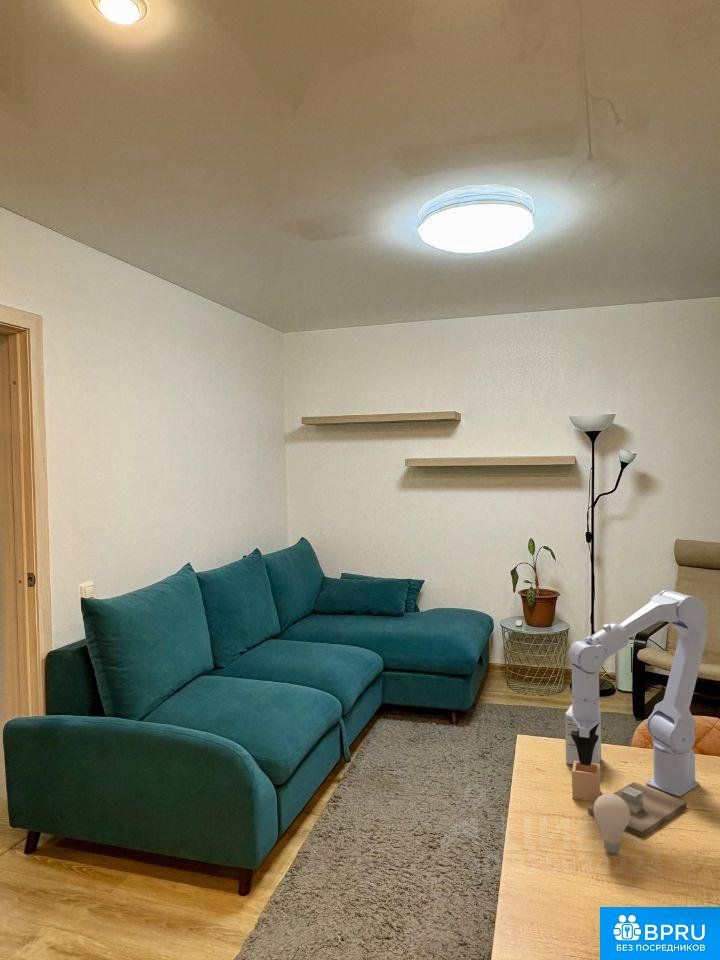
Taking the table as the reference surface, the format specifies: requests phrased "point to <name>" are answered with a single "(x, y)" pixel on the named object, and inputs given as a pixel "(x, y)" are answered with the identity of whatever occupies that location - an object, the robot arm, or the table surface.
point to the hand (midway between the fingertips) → (586, 757)
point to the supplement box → (570, 744)
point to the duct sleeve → (586, 781)
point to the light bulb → (611, 819)
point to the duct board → (647, 808)
